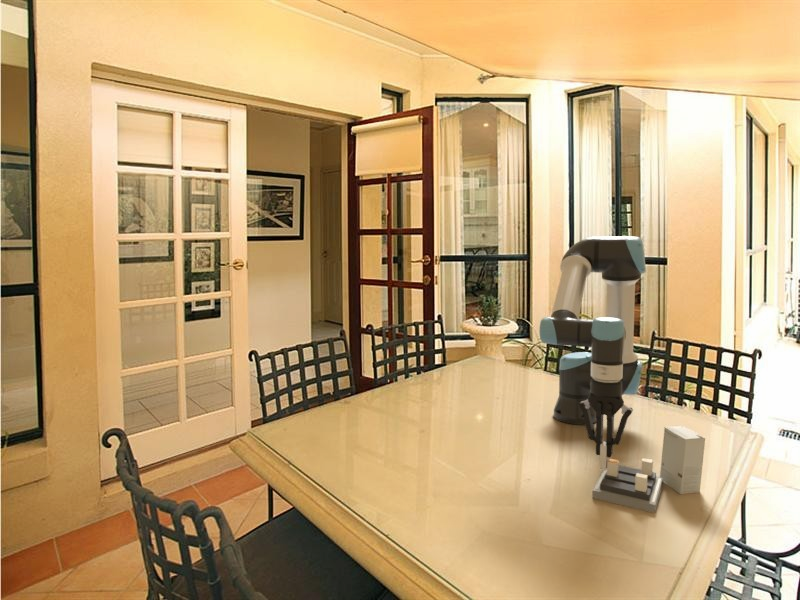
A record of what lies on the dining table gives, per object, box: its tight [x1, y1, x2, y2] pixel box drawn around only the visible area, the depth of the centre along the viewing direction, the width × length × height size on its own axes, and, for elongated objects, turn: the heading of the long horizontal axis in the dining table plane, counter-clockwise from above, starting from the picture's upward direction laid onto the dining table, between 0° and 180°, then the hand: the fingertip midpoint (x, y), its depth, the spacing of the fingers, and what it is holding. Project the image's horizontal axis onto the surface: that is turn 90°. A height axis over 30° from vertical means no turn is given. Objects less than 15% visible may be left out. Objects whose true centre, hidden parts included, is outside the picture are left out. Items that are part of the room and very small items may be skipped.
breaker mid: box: [607, 458, 620, 477], centre depth 133 cm, size 2×2×4 cm
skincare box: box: [659, 425, 706, 495], centre depth 133 cm, size 8×6×15 cm
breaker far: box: [640, 457, 654, 476], centre depth 133 cm, size 2×2×4 cm
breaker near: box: [635, 473, 648, 492], centre depth 125 cm, size 2×2×4 cm
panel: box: [592, 464, 664, 514], centre depth 131 cm, size 14×16×4 cm
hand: (603, 467), depth 134 cm, fingers closed
